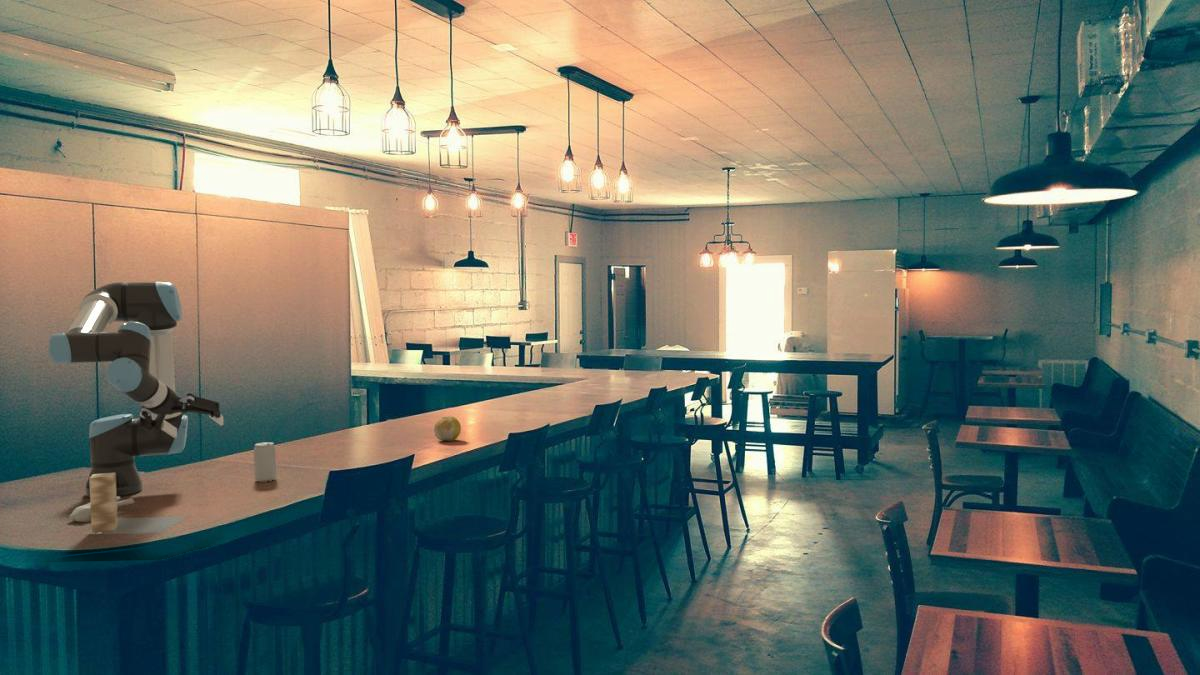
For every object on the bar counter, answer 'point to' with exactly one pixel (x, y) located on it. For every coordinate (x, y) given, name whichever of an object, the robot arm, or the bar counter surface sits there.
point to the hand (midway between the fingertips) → (199, 427)
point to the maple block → (103, 502)
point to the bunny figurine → (84, 511)
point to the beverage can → (264, 462)
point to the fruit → (447, 428)
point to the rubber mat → (145, 525)
